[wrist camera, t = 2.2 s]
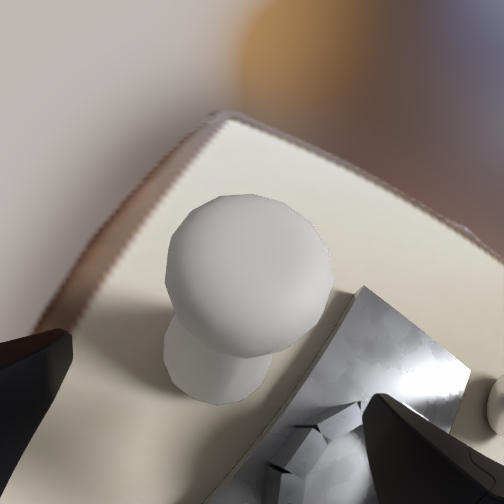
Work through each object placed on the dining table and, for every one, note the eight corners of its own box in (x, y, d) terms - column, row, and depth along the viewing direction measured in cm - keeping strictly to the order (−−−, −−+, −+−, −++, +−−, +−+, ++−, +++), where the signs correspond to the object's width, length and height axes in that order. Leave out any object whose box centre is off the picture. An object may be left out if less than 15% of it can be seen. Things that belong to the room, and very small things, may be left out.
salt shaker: (175, 413, 16) (141, 401, 5) (159, 322, 18) (124, 168, 8) (272, 394, 17) (404, 337, 7) (249, 309, 20) (324, 158, 9)
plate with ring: (295, 624, 8) (318, 653, 4) (141, 561, 10) (130, 592, 6) (458, 374, 20) (497, 359, 16) (354, 294, 22) (385, 264, 18)
